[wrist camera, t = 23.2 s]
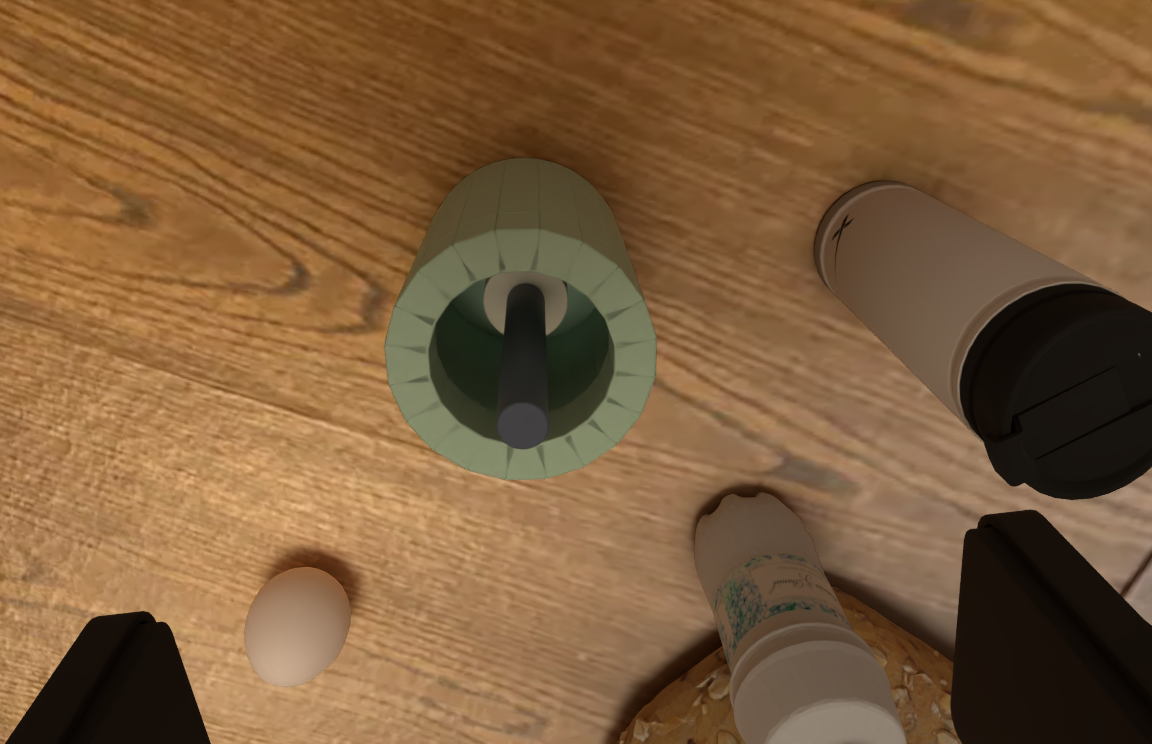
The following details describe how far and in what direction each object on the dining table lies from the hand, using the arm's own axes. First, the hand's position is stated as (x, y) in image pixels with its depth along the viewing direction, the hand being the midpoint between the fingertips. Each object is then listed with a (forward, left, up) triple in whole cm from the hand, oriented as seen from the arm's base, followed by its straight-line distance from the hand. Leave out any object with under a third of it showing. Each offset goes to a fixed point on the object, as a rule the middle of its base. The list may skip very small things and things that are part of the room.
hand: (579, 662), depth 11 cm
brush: (+3, -4, -34) cm, 34 cm away
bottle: (+23, -3, -35) cm, 42 cm away
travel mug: (+13, +11, -35) cm, 39 cm away
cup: (+3, -3, -35) cm, 35 cm away
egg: (+11, -25, -35) cm, 44 cm away
